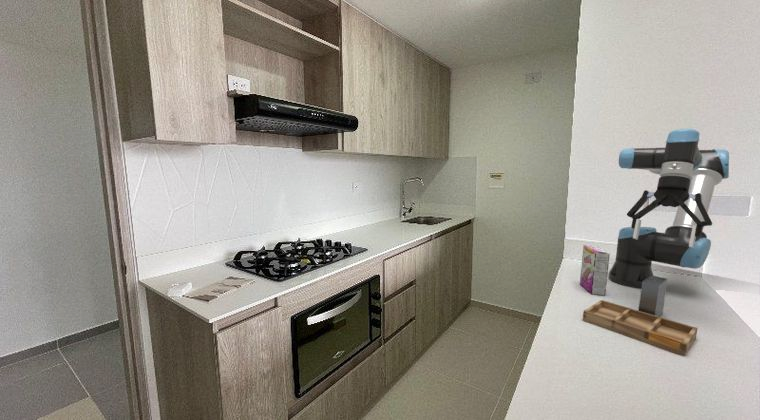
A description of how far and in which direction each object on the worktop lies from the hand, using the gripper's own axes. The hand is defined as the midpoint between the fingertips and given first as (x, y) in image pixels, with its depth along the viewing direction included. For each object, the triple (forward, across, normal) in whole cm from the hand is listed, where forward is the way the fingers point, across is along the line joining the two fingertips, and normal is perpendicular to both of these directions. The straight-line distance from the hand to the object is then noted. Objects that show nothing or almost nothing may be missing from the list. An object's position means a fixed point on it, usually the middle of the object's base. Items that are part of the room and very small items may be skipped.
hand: (661, 242), depth 101 cm
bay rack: (+27, 0, -11) cm, 29 cm away
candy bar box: (+21, -20, +12) cm, 31 cm away
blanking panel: (+24, 0, +3) cm, 24 cm away
